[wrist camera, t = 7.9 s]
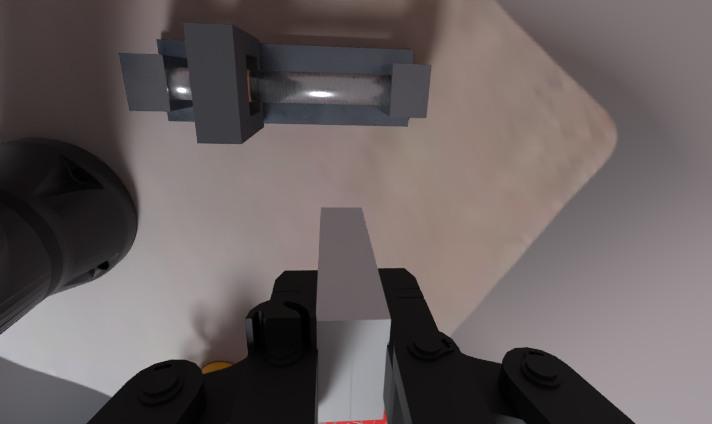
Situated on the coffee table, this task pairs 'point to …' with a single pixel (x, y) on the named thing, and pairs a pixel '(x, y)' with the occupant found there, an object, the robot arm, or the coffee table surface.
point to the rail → (293, 84)
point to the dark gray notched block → (222, 82)
